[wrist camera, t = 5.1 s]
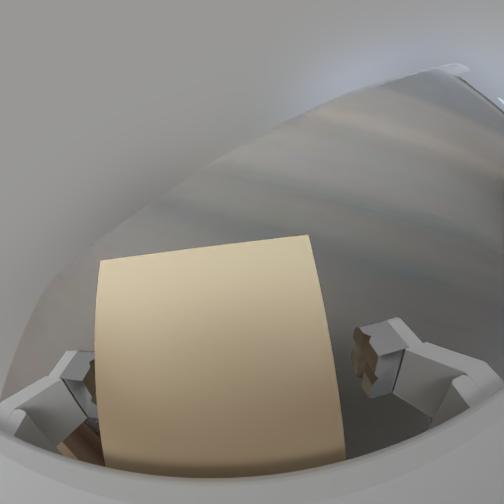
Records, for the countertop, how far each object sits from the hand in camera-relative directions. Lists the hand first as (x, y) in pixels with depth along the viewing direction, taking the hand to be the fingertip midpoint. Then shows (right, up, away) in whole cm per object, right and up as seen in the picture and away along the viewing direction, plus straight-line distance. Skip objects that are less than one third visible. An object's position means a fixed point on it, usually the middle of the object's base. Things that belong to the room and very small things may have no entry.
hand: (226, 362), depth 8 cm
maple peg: (0, -4, +7) cm, 8 cm away
